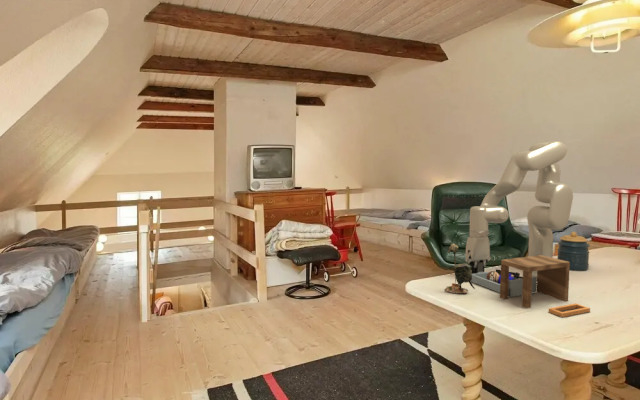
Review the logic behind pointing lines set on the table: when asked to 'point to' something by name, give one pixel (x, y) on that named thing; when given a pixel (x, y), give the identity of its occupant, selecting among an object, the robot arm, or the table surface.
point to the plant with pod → (459, 274)
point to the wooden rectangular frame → (569, 310)
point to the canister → (574, 251)
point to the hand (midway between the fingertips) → (477, 274)
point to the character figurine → (496, 276)
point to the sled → (514, 285)
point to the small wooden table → (548, 277)
